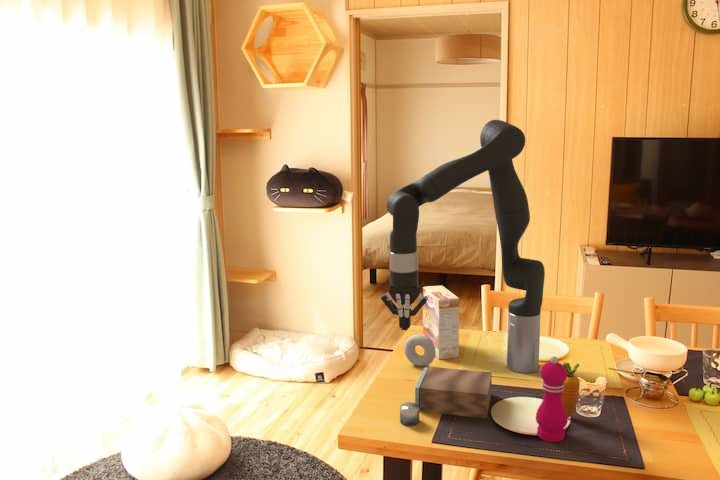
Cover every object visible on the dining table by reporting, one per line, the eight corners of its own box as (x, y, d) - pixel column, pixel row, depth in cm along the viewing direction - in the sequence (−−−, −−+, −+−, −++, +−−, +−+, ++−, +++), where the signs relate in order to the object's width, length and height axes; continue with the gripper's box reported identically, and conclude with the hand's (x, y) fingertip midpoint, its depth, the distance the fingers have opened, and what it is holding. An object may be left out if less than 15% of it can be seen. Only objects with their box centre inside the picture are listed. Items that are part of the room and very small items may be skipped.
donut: (437, 366, 196) (437, 335, 194) (433, 370, 193) (433, 339, 191) (407, 361, 201) (407, 330, 199) (402, 365, 198) (402, 334, 196)
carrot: (578, 415, 164) (581, 359, 161) (576, 424, 160) (579, 367, 157) (558, 411, 166) (561, 356, 163) (555, 420, 162) (558, 364, 159)
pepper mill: (567, 430, 157) (571, 352, 153) (566, 445, 150) (570, 364, 146) (536, 426, 159) (539, 349, 155) (534, 440, 152) (537, 360, 148)
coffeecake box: (422, 343, 215) (422, 286, 211) (442, 341, 217) (442, 284, 213) (438, 360, 201) (438, 299, 197) (459, 357, 203) (460, 297, 199)
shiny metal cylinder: (420, 418, 164) (420, 403, 164) (417, 427, 160) (417, 412, 159) (402, 415, 166) (402, 401, 165) (398, 424, 161) (398, 409, 160)
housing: (491, 394, 177) (491, 372, 175) (486, 418, 164) (487, 394, 162) (429, 388, 181) (429, 366, 180) (420, 411, 168) (420, 387, 167)
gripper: (375, 270, 170) (377, 332, 174) (425, 272, 166) (426, 336, 170) (383, 262, 177) (384, 322, 181) (431, 264, 173) (431, 326, 177)
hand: (405, 329), depth 176 cm, fingers closed
